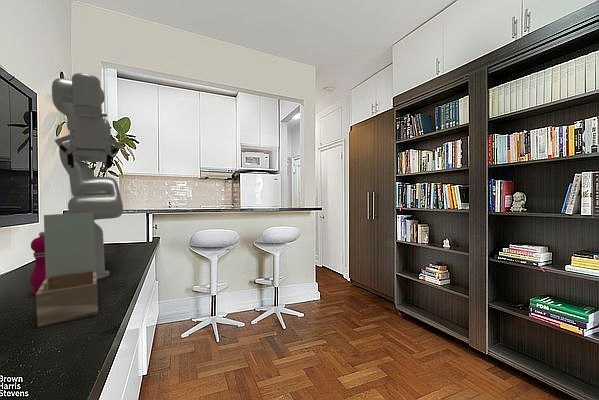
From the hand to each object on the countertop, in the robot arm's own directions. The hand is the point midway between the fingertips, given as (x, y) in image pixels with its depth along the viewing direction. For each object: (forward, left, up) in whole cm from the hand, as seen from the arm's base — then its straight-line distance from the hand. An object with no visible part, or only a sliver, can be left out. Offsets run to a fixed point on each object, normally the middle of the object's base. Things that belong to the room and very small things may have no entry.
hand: (90, 167), depth 97 cm
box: (+15, -6, -40) cm, 43 cm away
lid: (+4, -6, -23) cm, 24 cm away
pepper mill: (-10, -14, -40) cm, 44 cm away
